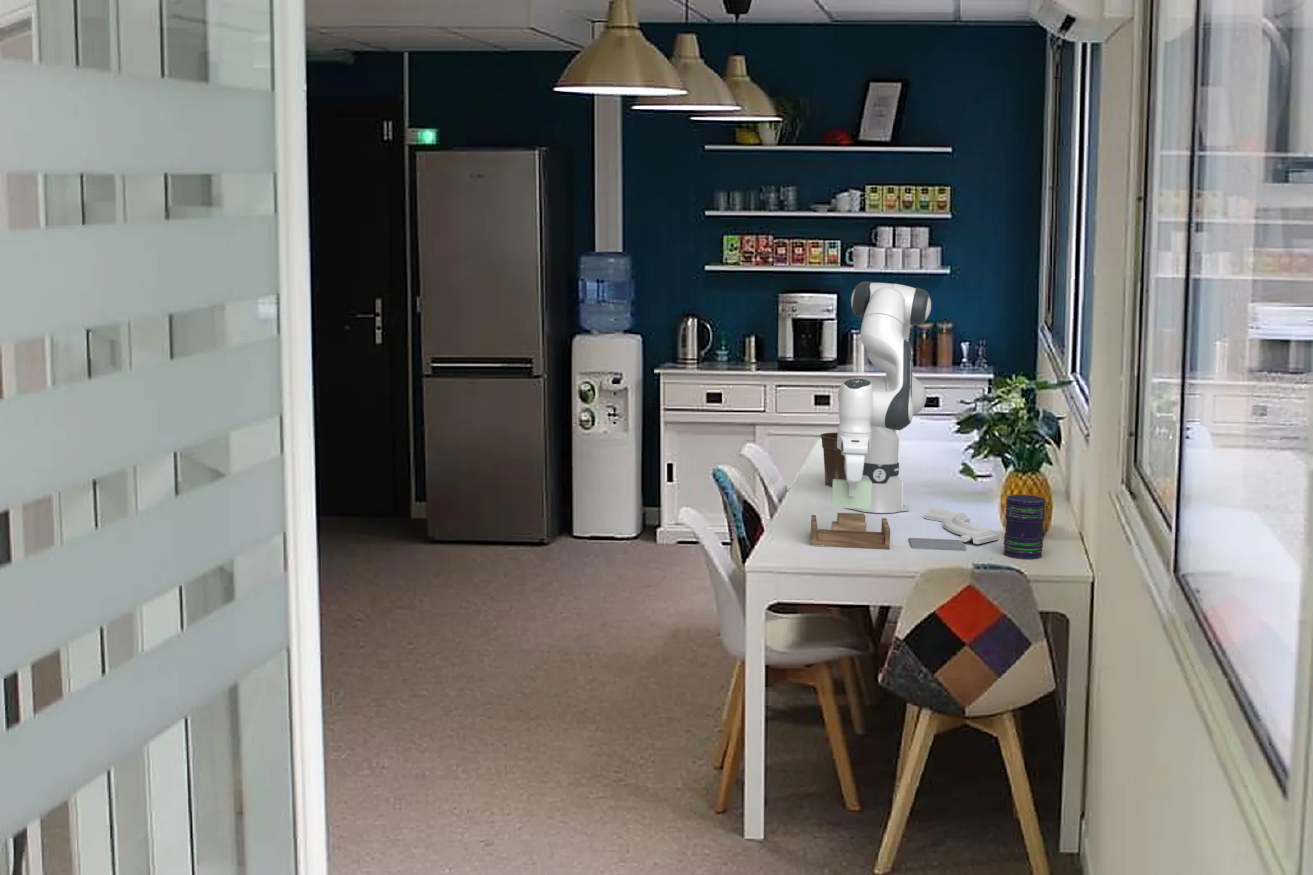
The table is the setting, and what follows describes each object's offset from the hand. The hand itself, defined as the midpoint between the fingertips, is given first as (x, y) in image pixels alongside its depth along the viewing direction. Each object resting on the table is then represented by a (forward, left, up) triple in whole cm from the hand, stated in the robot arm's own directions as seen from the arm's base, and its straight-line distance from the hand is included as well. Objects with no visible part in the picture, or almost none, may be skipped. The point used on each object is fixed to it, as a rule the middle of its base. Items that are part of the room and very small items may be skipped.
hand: (851, 494), depth 423 cm
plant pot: (-96, +2, -13) cm, 97 cm away
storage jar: (+4, +44, -13) cm, 46 cm away
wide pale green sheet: (0, 0, -3) cm, 3 cm away
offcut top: (-9, +1, -9) cm, 13 cm away
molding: (-26, +30, -13) cm, 42 cm away
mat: (-4, +23, -13) cm, 27 cm away
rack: (-4, 0, -13) cm, 14 cm away
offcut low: (-9, 0, -12) cm, 15 cm away
